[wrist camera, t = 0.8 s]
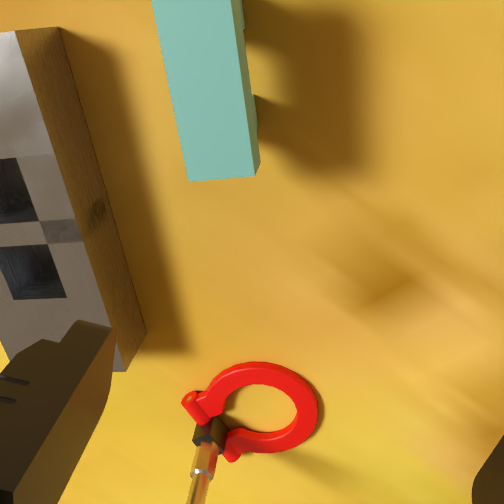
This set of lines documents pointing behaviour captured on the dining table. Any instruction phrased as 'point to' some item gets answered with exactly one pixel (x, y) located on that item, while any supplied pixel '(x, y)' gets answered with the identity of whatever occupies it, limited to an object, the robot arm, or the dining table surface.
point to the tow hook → (241, 440)
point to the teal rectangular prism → (209, 86)
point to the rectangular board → (55, 208)
